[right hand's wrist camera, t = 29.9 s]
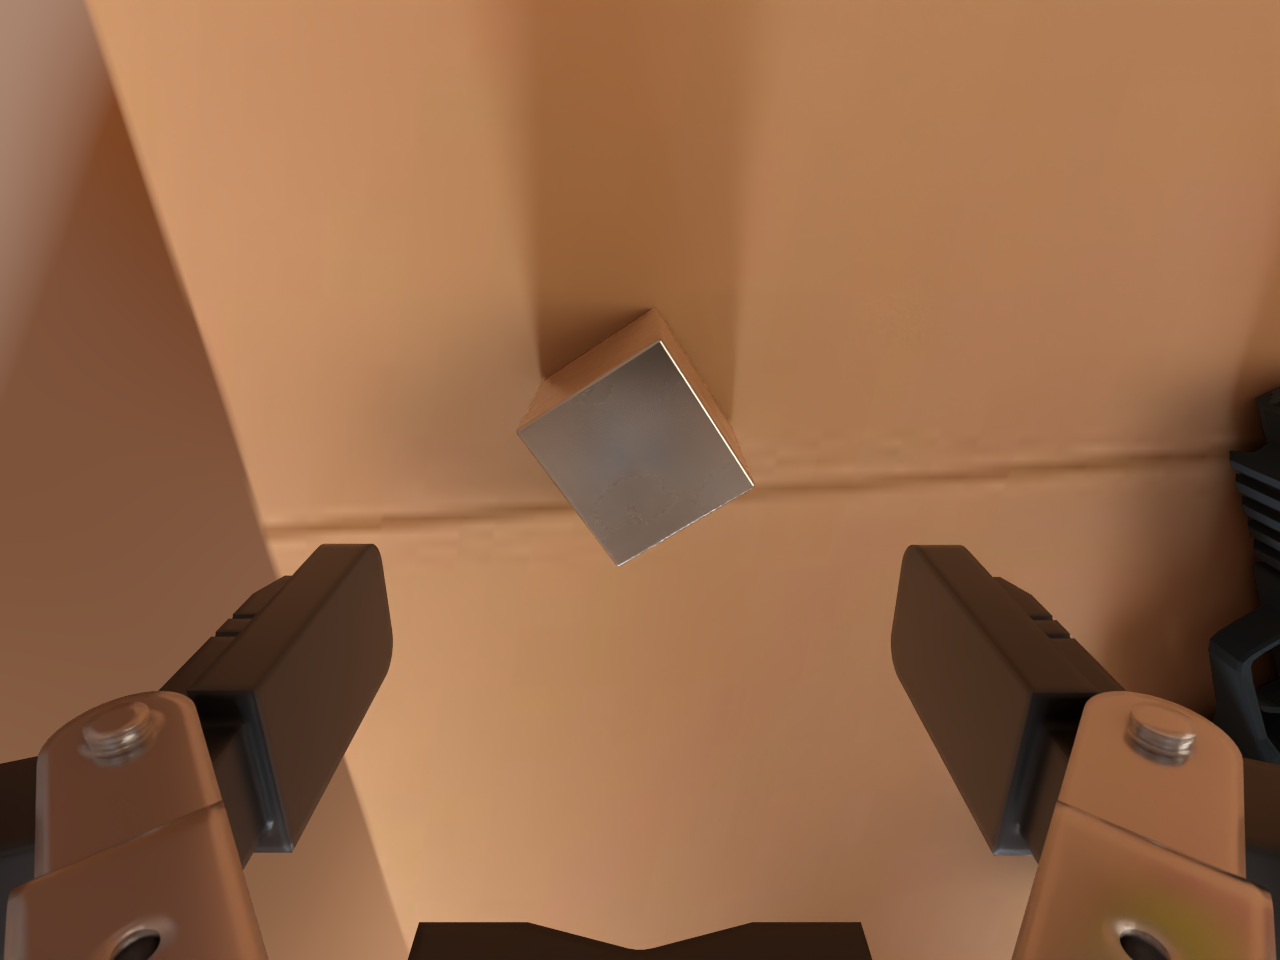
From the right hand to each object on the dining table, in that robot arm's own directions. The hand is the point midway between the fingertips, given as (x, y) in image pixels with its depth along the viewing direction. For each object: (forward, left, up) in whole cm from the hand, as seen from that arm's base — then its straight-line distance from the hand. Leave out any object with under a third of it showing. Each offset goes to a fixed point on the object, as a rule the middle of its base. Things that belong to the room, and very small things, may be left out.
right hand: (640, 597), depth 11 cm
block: (0, 0, -11) cm, 11 cm away
